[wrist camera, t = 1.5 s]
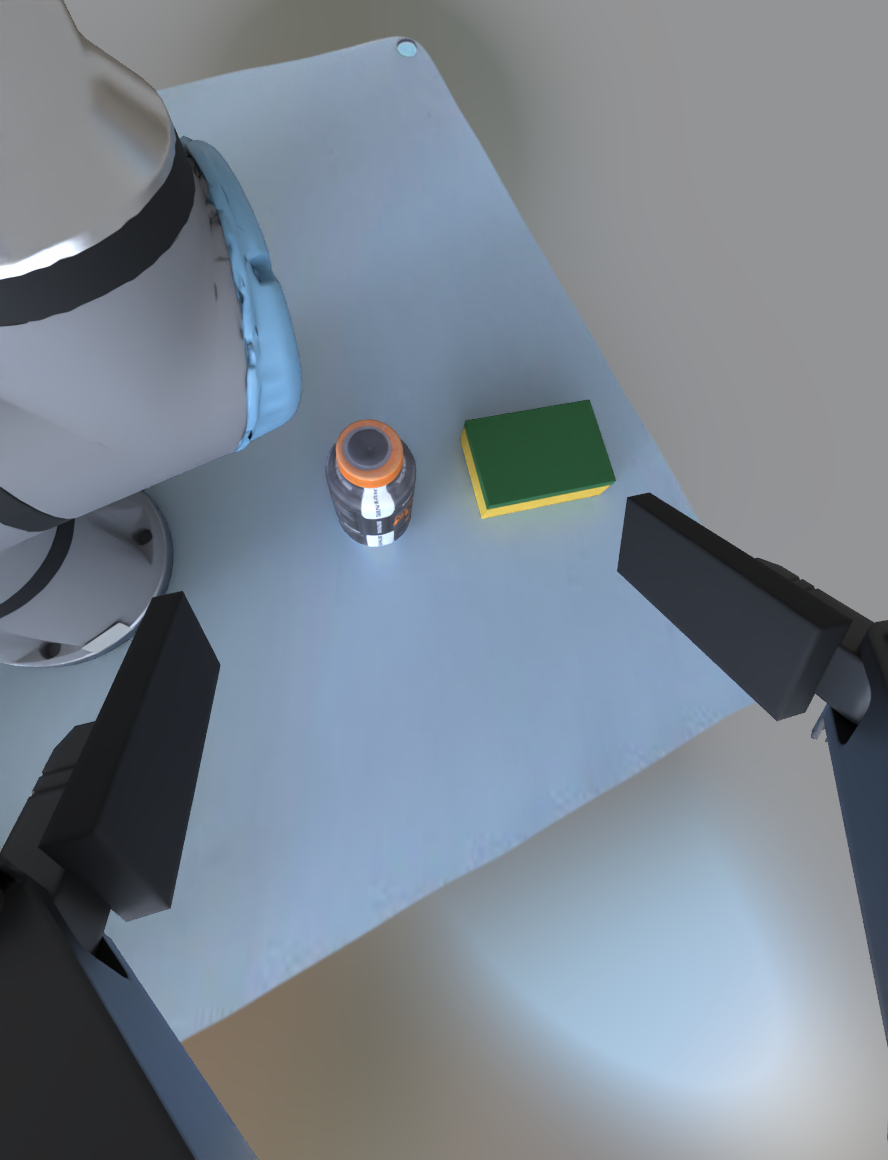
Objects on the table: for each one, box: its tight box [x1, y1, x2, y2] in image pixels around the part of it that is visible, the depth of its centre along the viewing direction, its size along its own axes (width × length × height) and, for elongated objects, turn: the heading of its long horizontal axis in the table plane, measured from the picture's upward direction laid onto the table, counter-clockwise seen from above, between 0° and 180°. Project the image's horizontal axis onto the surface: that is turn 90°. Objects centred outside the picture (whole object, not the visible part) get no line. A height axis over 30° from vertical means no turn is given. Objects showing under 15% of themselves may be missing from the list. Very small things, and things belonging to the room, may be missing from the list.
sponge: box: [460, 400, 616, 519], centre depth 40 cm, size 11×8×3 cm
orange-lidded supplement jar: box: [325, 420, 416, 546], centre depth 33 cm, size 6×6×11 cm
